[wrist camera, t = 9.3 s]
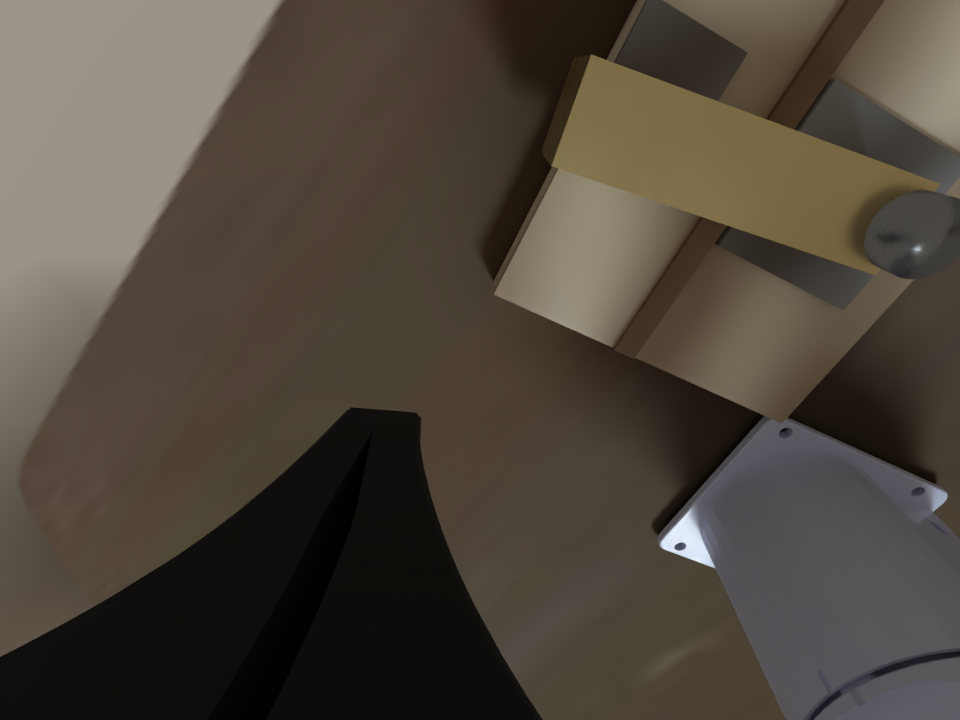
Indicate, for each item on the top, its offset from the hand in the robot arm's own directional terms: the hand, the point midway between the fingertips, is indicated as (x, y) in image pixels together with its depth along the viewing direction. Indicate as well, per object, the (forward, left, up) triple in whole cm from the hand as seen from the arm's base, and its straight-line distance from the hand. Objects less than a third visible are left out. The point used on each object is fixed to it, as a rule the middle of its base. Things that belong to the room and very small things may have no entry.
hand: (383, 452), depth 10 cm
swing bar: (-6, -7, -8) cm, 12 cm away
